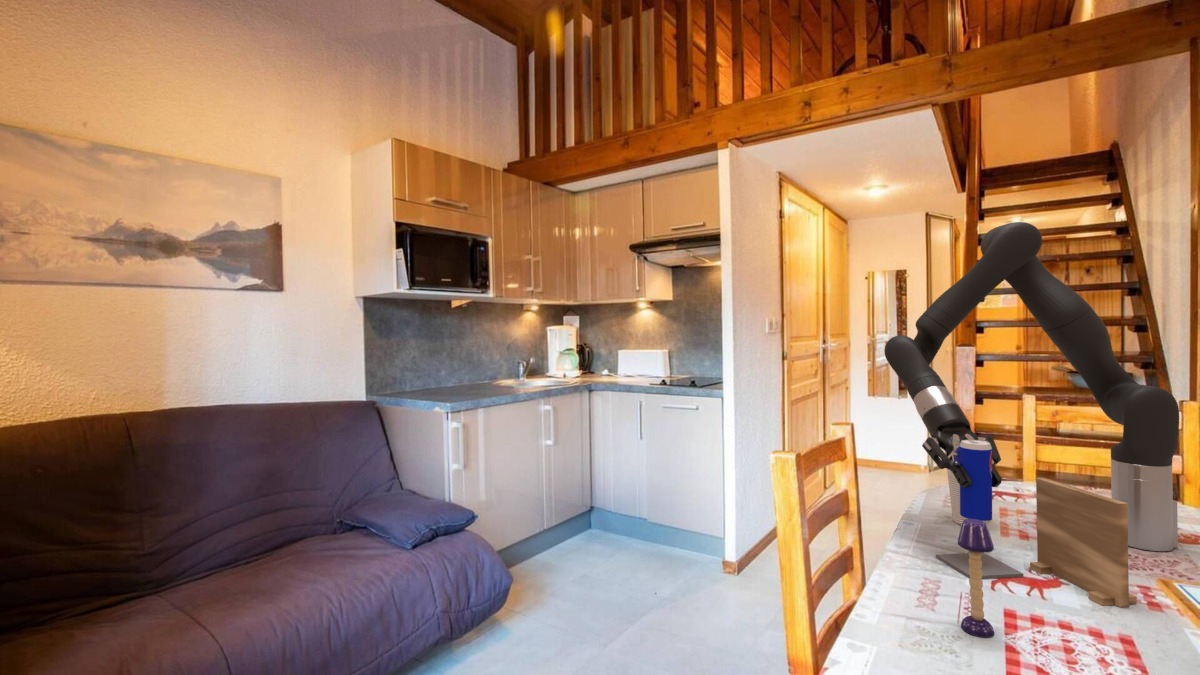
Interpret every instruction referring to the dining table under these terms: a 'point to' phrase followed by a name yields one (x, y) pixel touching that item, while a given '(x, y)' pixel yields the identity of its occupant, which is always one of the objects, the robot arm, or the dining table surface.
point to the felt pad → (989, 567)
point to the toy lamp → (976, 574)
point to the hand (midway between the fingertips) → (982, 485)
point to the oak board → (1083, 541)
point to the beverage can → (976, 480)
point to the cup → (954, 497)
